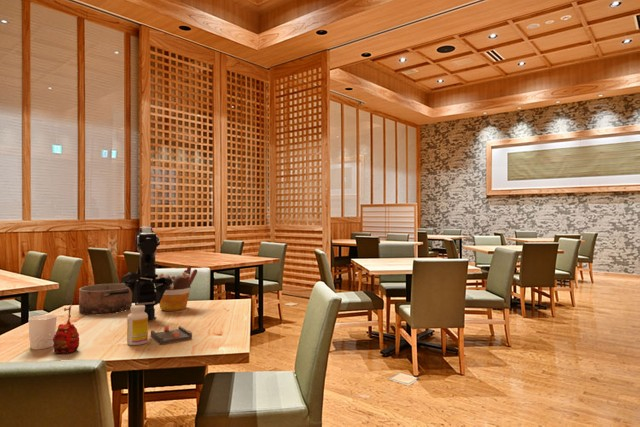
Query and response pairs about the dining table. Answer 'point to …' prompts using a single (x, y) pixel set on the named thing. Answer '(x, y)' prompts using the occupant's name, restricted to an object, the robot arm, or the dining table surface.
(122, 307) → the cooking pot
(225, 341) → the dining table surface
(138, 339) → the supplement bottle
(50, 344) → the white cup
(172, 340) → the tray
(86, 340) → the dining table surface
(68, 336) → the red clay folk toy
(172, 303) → the bucket of meat
